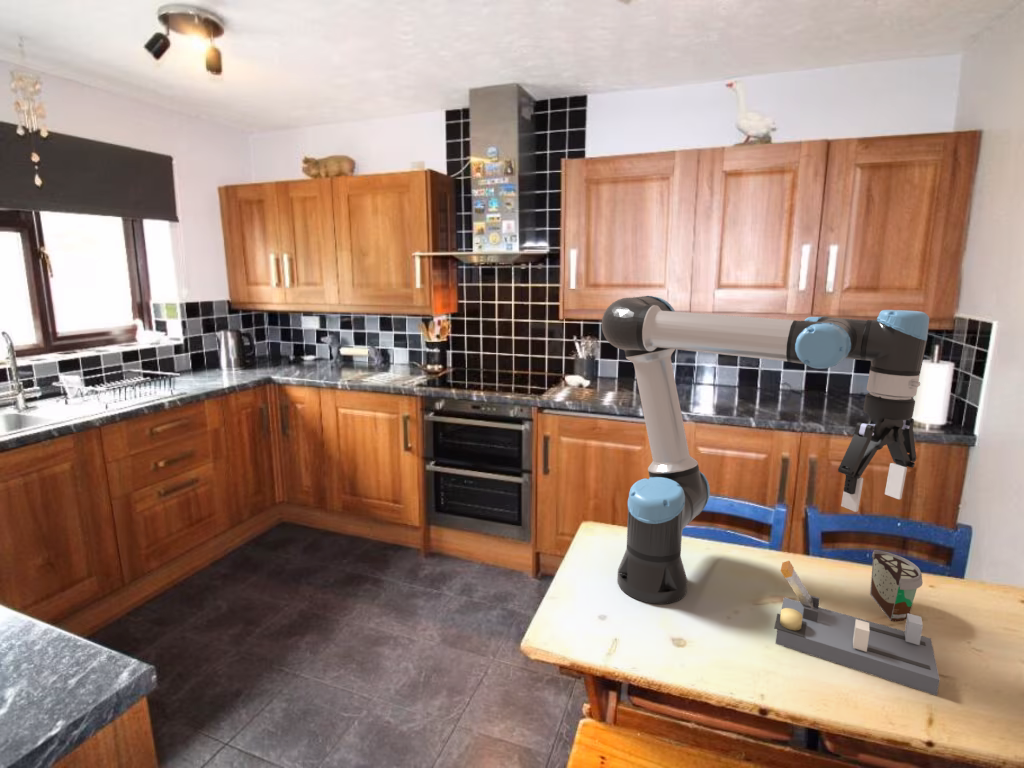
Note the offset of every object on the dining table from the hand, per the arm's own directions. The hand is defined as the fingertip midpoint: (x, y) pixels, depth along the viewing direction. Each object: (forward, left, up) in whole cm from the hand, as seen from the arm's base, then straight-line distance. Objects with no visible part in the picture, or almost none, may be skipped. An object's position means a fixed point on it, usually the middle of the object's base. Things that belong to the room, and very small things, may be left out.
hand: (871, 502), depth 102 cm
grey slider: (+8, -7, -22) cm, 25 cm away
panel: (-1, -11, -25) cm, 27 cm away
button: (-11, -14, -22) cm, 28 cm away
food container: (+7, +8, -25) cm, 28 cm away
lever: (-8, -8, -21) cm, 24 cm away
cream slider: (0, -14, -22) cm, 26 cm away
